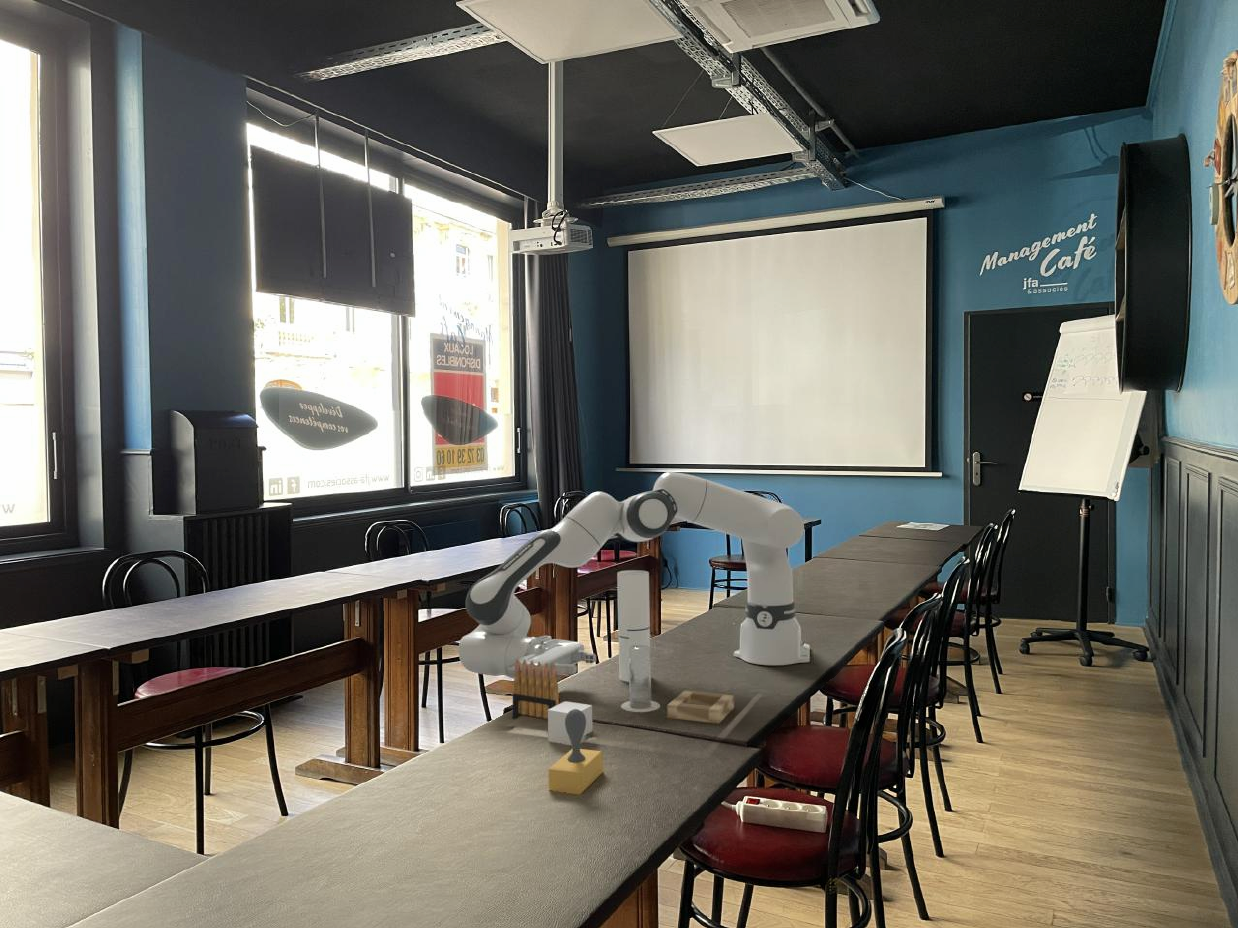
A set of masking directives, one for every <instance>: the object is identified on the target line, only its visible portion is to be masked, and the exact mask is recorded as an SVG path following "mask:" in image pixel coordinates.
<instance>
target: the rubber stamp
mask: <svg viewBox="0 0 1238 928" xmlns="http://www.w3.org/2000/svg"><path fill="white" fill-rule="evenodd" d="M565 727H566V731H567V733H568V736H569V738H570V741H571V744H572V745H571V749H570V750H569V751H568V752H567V753H566V754H564V755H563V756H562V757H561V758H560V759H558V760H557V761H556V762H555V763H554V764H553V765H551V766H550V767H549V768H548V772H547V773H548V790H549V791H550V790H553V791H552V792H556V791H559V792H558V793H564V792H566V793H565V794H571V793H572V795H578V796H579V795H581V794H583V792H584V791H585V790H587V788H588V787H589V786H590V785H592V783H593V782H594V781H596V779H598V778H599V776H600V775H601V774H602V773H604V753H603V751H601V750H593V749H583V748H581V744H582V743H581V740H582V737H583V734H584V731H585V727H586V717H585V715H584V713H583V712H582V711H580V710H578V709H573V710H571V711H569V712H568V714H567V716H566V718H565ZM580 743H581V744H580Z"/></svg>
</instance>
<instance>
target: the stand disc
mask: <svg viewBox="0 0 1238 928" xmlns="http://www.w3.org/2000/svg"><path fill="white" fill-rule="evenodd" d="M620 708H621V709H622V710H625V711H626V712H633V713H646V712H647V713H648V712H649V713H650V712H653V711H656V710H659V708H661V704H660V703H659V702H657V701H653V700H651V707H650V708H646V709H634V708H631V707H630V700H629V701H625V702H624V703H622V704H621V705H620Z"/></svg>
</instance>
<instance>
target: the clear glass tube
mask: <svg viewBox="0 0 1238 928" xmlns="http://www.w3.org/2000/svg"><path fill="white" fill-rule="evenodd" d="M651 665H652V664H651V645H650V646H647V645H633V646H630V647H629V682H628V684H629V685H628V686H629V687H628V688H629V690H628V691H629V701H630V707H631V708H634V709H646V708H650V707H651V701H652V675H651V673H652V670H651V669H652V667H651Z"/></svg>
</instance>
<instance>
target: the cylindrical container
mask: <svg viewBox="0 0 1238 928" xmlns="http://www.w3.org/2000/svg"><path fill="white" fill-rule="evenodd" d="M616 574H617V576H616V578H617V622H618V623H617V625H618V628H617V629H618V634H617V635H618V672H619V673H618V677H619V680H621V681H622V682H626V683H629V647H630V646H633V645H647V646H650V647H651V621H650V620H651V619H650V618H651V616H650V612H651V611H650V572H649V571H646V570H640V569H639V570H638V569H637V570H635V569H631V570H630V569H629V570H621V571H618V572H617V573H616Z"/></svg>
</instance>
